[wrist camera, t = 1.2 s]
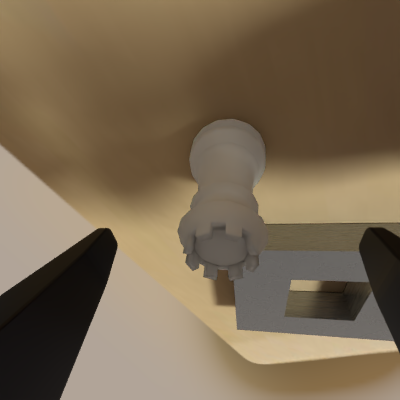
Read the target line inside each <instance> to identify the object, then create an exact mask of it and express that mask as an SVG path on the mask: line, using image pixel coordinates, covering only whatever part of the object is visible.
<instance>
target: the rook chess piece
mask: <svg viewBox="0 0 400 400" xmlns="http://www.w3.org/2000/svg"><path fill="white" fill-rule="evenodd" d="M265 150H266V147H265V145H264V142H263V140H262V137H261V135H260V133H259V132H257V131H256V130H255V129H254V128H253V127H252V126H251V125H250V124H248V123H245V122H242V121H239V120H236V119H224V120H216V121H214V122H212V123H211V124H209V125H207V126H205V127H203V128H202V129H201V131H200V132H199V133H198V134H197V136H196V137H195V138H194V140H193V144H192V148H191V151H190V157H189V162H190V167H191V173H192V176H193V177H194V179H195V180H196V182H197V183H198V192H197V193H196V194H195V195H194V196H193V199H192V202H191V205H190V207H191V210H190V211H189V212H188V213H187V214H186V215H185V216H184V217H182V218H181V221H180V224H179V228H178V234H179V238H180V242H181V244H182V245H183V247H184V250H183V253H185V254H187V257H186V262H185V263H186V264H187V265H188V266H189V267H190V268H191V270H192V271H193V270H196V269H198V268H199V263H200V264H202V265H203V266H205V268H204V276H203V277H205V278H209V279H213V280H217V273H218V270H228V277H229V280H230V281H232V280H237V279H242V278H243V268H242V267H244V266H246V270H248V271H250V272H254V271H255V270H256V268H257V267H258V266H259V257H258V256H259V255H260V254H261V252H262V251H263V249H264V248H265V247H266V245H267V244H268V233H269V230H268V229H267V227H266V225H265V223H264V221H263V219H262V218H261V217H260V216H259V215H258V203H257V201H256V199H255V197H254V195H253V194H252V192H253V188H254V187H255V185H256V184H257V183H258V182H259V180H260V178H261V176H262V174H263V173H264V170H265V165H266V153H265Z"/></svg>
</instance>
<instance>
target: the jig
mask: <svg viewBox="0 0 400 400" xmlns="http://www.w3.org/2000/svg"><path fill="white" fill-rule="evenodd" d="M266 227H267V229H268V230H269V233H268V244H267V245H266V247H265V248H264V249H263V251H262V252H261V254H260V255H259V256H258V257H259V266H258V267H257V268H256V270H255V271H254V272H250V271H248V270H246V266H244V267H242V268H243V278H242V279H237V280H234V292H235V306H236V320H237V329H238V330H251V331H265V332H278V333H292V334H305V335H318V336H332V337H345V338H359V339H372V340H386V341H394V339H393V337H392V335H391V333H390V331H389V328H388V326H387V324H386V322H385V320H384V318H383V315H382V313H381V311H380V309H379V307H378V304H377V302H376V300H375V297H374V295H373V292H372V289H371V286H370V283H369V280H368V277H367V274H366V271H365V268H364V265H363V261H362V258H361V255H360V252H359V243H360V241H361V239H362V236H363V234H364V232H365V230H366V229H367V228H368V227H383V228H386V229H387V230H389V231H391V232H392V233H394V234H396V235H397V236H399V237H400V223H372V224H267V225H266ZM291 280H318V281H348V283H347V285H346V287H345V289H344V292H343V293H327V292H303V291H289V289H290V283H291Z"/></svg>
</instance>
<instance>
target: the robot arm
mask: <svg viewBox="0 0 400 400" xmlns="http://www.w3.org/2000/svg"><path fill="white" fill-rule="evenodd" d="M117 246H118V245H117V241H116V239H115V237H114V235H113V233H112V231H111V230H110V229H109V228H99V229H97V230H95V231H94V232H92V233H91V234H89V235H88V236H87V237H85V238H84V239H82V240H81V241H79V242H78V243H76V244H75V245H73V246H72V247H70V248H69V249H68V250H66V251H65V252H63V253H62V254H60V255H59V256H58V257H56V258H54V259H53V260H52V261H50V262H49V263H47V264H46V265H44V266H43V267H42V268H40V269H38V270H37V271H35V272H34V273H33V274H31V275H30V276H28V277H27V278H25V279H24V280H22V281H21V282H19V283H18V284H16V285H15V286H14V287H12V288H11V289H9V290H8V291H6V292H5V293H3V294H2V295H1V296H0V400H60V398H61V395H62V393H63V391H64V388H65V386H66V383H67V381H68V378H69V376H70V373H71V371H72V368H73V366H74V363H75V361H76V358H77V356H78V353H79V351H80V349H81V346H82V344H83V341H84V339H85V336H86V334H87V331H88V329H89V326H90V324H91V322H92V319H93V317H94V314H95V312H96V309H97V307H98V304H99V302H100V299H101V297H102V294H103V292H104V289H105V287H106V284H107V281H108V278H109V275H110V271H111V268H112V264H113V261H114V257H115V254H116V251H117ZM359 252H360V255H361V258H362V261H363V265H364V268H365V271H366V274H367V277H368V280H369V283H370V286H371V289H372V292H373V295H374V297H375V300H376V302H377V304H378V307H379V309H380V311H381V313H382V315H383V318H384V320H385V322H386V324H387V326H388V328H389V331H390V333H391V335H392V337H393V339H394V342H395V344H396V346H397V348H398V350H399V353H400V237H399V236H397V235H396V234H394V233H392V232H391V231H389V230H387V229H386V228H383V227H368V228H367V229H366V230H365V232H364V234H363V236H362V239H361V241H360V243H359Z"/></svg>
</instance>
